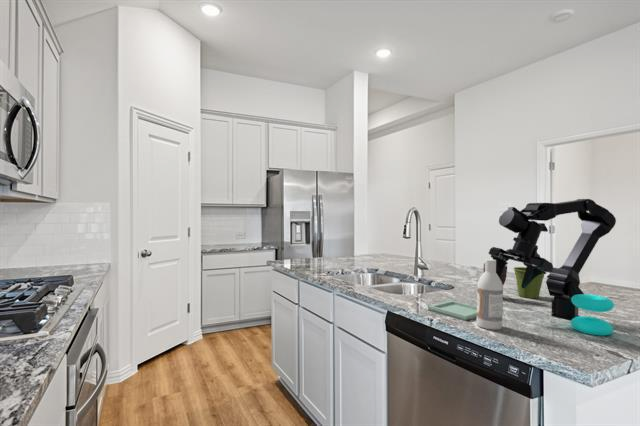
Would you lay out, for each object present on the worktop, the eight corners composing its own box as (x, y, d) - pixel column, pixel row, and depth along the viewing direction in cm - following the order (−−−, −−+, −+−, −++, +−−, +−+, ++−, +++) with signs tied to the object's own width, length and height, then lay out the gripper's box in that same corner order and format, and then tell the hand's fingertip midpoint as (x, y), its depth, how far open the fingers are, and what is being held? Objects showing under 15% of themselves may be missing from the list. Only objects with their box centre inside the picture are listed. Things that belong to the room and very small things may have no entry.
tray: (488, 313, 121) (488, 309, 121) (465, 320, 112) (465, 316, 112) (451, 304, 132) (451, 300, 132) (428, 310, 123) (428, 305, 123)
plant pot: (516, 298, 143) (516, 270, 143) (509, 292, 154) (510, 266, 154) (549, 301, 140) (550, 272, 140) (540, 294, 151) (541, 268, 151)
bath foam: (475, 321, 112) (477, 257, 111) (500, 324, 109) (502, 259, 109) (477, 328, 105) (478, 260, 105) (503, 331, 103) (505, 262, 103)
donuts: (614, 303, 98) (569, 297, 104) (613, 339, 98) (568, 331, 104) (614, 297, 106) (572, 291, 112) (613, 330, 106) (572, 323, 112)
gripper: (570, 254, 110) (552, 301, 109) (514, 242, 127) (498, 283, 126) (551, 240, 105) (532, 289, 104) (496, 230, 122) (479, 272, 121)
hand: (509, 283), depth 114 cm, fingers open, 9 cm apart
